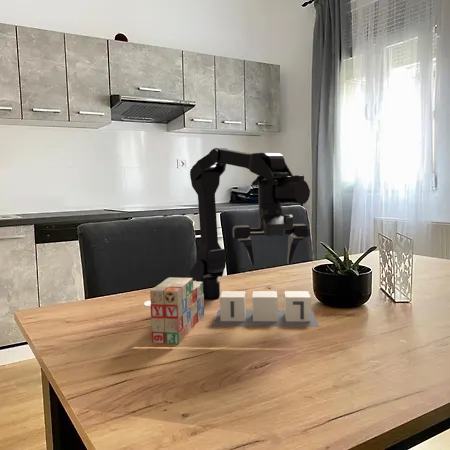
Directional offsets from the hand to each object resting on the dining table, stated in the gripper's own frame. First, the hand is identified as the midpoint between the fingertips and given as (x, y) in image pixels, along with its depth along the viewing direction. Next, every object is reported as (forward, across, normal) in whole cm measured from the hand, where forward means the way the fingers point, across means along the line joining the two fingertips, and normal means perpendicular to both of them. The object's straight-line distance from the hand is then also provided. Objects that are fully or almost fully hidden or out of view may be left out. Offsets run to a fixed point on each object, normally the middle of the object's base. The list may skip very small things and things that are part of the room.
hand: (270, 265), depth 114 cm
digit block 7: (+13, +6, -3) cm, 15 cm away
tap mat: (+13, -2, -2) cm, 14 cm away
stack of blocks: (+14, -23, -7) cm, 28 cm away
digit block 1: (+13, -10, -1) cm, 16 cm away
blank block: (+13, -2, -2) cm, 13 cm away
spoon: (+14, -30, +22) cm, 40 cm away
